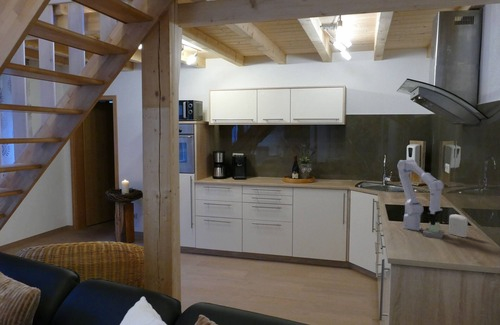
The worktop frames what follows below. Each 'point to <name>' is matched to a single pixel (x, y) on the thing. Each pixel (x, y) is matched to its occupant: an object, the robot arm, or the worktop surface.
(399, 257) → the worktop surface
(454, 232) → the photo printer
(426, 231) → the grey block
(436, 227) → the green cube
